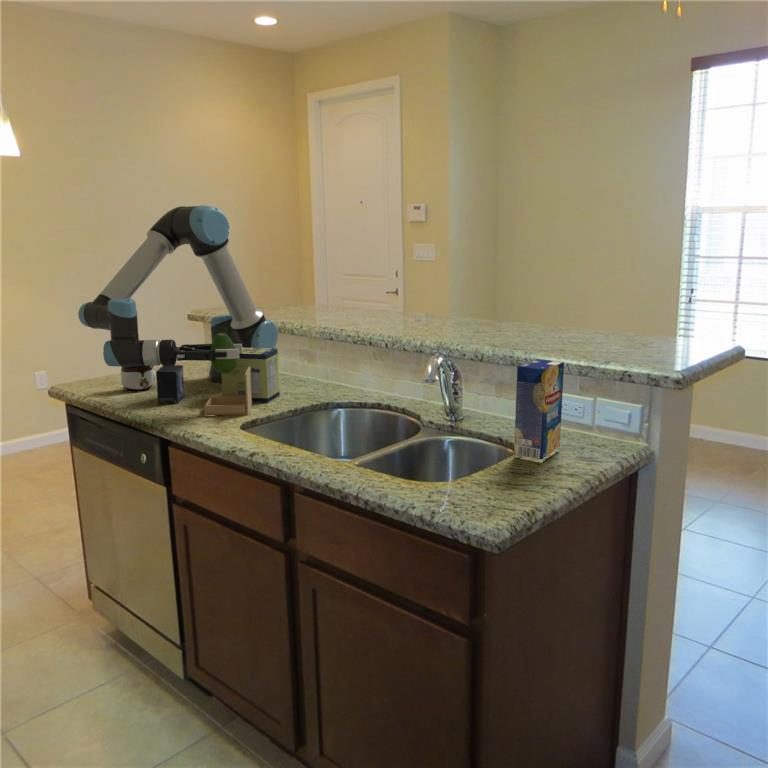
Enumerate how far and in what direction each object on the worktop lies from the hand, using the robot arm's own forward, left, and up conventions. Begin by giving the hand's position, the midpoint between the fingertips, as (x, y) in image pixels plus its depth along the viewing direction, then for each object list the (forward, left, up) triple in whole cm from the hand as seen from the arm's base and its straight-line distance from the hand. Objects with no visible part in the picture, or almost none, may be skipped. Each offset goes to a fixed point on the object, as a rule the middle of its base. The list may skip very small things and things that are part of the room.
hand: (240, 351), depth 206 cm
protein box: (-11, -11, -18) cm, 24 cm away
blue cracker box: (-24, +86, -18) cm, 91 cm away
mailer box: (+3, -3, -18) cm, 18 cm away
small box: (+8, -27, -18) cm, 34 cm away
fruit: (+4, -3, -7) cm, 8 cm away
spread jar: (+7, -50, -18) cm, 54 cm away
